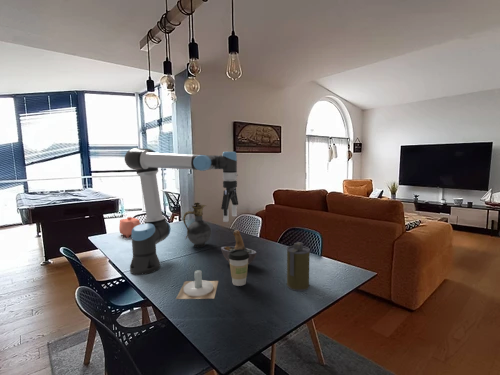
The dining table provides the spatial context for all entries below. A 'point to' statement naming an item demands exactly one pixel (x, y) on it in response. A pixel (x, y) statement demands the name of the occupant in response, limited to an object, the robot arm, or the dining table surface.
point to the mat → (208, 296)
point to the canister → (298, 267)
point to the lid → (198, 286)
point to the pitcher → (198, 227)
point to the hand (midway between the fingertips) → (230, 218)
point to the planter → (238, 245)
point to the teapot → (128, 226)
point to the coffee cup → (238, 266)
